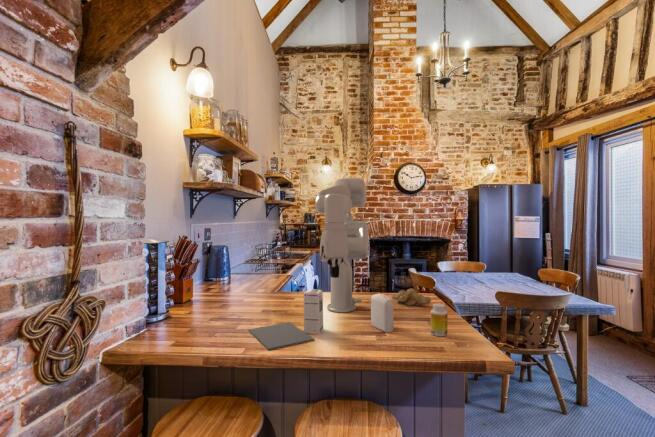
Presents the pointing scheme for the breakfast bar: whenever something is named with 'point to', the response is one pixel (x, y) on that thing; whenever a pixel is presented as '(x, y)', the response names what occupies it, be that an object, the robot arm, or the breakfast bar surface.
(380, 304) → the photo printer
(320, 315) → the syrup box
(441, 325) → the supplement bottle
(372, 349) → the breakfast bar surface
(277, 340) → the mat
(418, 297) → the ginger root
